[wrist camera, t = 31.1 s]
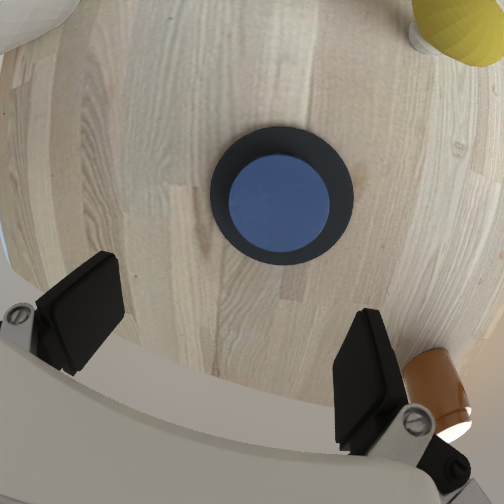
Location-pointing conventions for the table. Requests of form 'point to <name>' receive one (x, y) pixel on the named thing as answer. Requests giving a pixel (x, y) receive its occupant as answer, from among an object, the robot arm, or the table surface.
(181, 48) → the table surface
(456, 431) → the jar
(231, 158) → the coaster
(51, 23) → the vase
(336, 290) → the table surface
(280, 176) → the lid
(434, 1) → the light bulb
